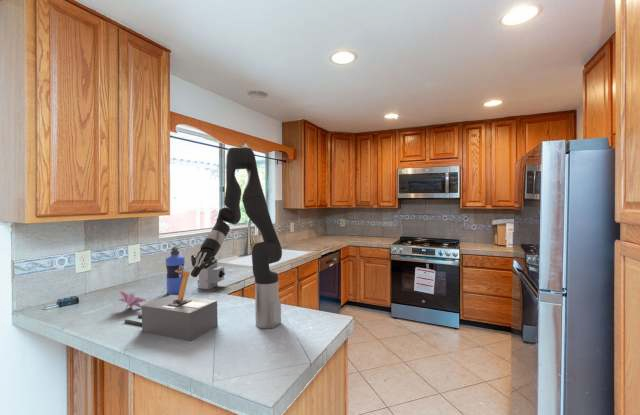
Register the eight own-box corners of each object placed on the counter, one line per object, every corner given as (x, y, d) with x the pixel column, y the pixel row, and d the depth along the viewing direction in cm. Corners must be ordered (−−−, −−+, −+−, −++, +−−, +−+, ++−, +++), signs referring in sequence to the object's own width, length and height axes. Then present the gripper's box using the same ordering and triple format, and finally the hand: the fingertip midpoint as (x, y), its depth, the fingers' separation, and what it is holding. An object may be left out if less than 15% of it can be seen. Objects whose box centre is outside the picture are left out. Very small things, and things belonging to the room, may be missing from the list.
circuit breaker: (220, 289, 168) (219, 263, 168) (197, 288, 171) (197, 262, 170) (227, 285, 175) (226, 260, 175) (205, 284, 178) (204, 259, 178)
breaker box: (217, 325, 118) (217, 297, 118) (190, 341, 105) (189, 309, 105) (147, 313, 133) (146, 288, 132) (115, 326, 120) (114, 297, 119)
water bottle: (189, 290, 167) (188, 246, 166) (176, 295, 158) (175, 248, 157) (175, 289, 169) (174, 245, 169) (162, 294, 160) (161, 248, 160)
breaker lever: (182, 302, 116) (190, 272, 119) (180, 302, 115) (187, 271, 118) (178, 301, 117) (185, 271, 120) (176, 301, 116) (183, 271, 119)
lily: (147, 313, 135) (152, 292, 140) (120, 311, 126) (125, 288, 131) (133, 317, 141) (138, 296, 145) (106, 315, 132) (112, 293, 137)
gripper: (197, 236, 134) (175, 270, 122) (221, 237, 129) (201, 272, 118) (206, 247, 139) (186, 279, 127) (229, 248, 134) (210, 282, 123)
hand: (193, 276), depth 122 cm, fingers closed
